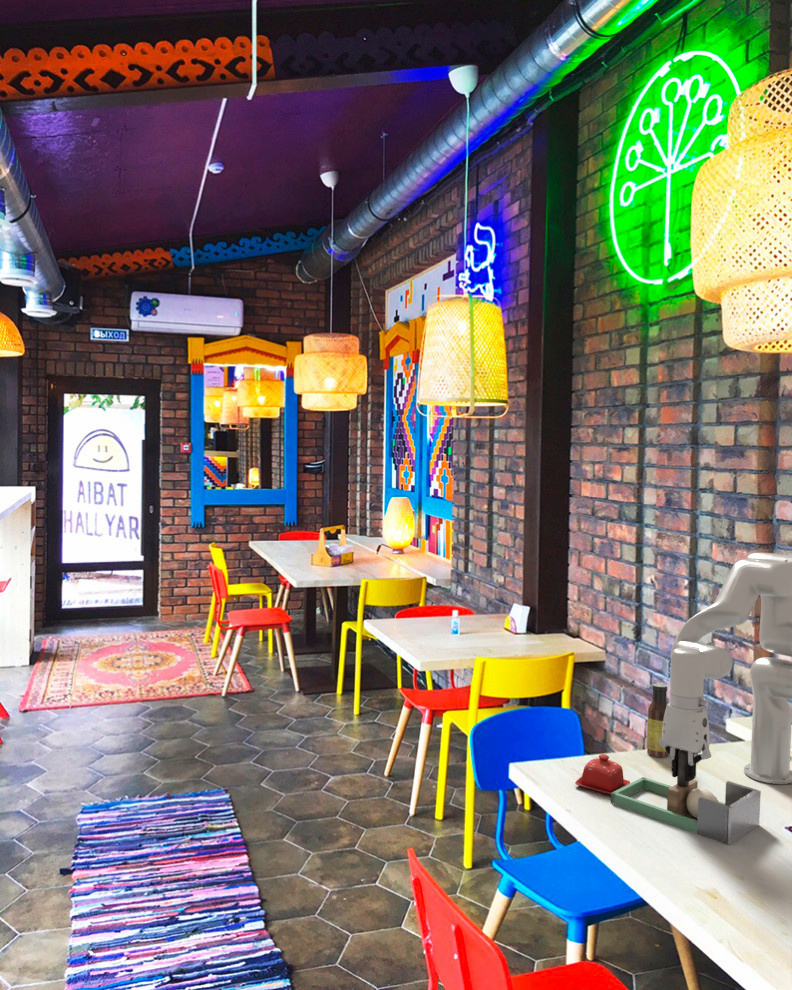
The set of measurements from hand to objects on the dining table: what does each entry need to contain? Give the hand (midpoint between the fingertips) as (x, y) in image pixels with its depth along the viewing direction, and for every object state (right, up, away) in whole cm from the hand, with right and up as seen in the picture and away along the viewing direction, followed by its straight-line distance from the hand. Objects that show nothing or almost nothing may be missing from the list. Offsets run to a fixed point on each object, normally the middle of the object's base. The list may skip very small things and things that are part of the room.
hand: (683, 777), depth 196 cm
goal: (+8, -9, -8) cm, 14 cm away
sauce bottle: (+6, -7, +40) cm, 41 cm away
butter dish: (-15, -8, +16) cm, 23 cm away
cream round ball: (+4, -9, -3) cm, 10 cm away
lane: (-3, -8, +3) cm, 9 cm away
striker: (0, -9, 0) cm, 9 cm away
